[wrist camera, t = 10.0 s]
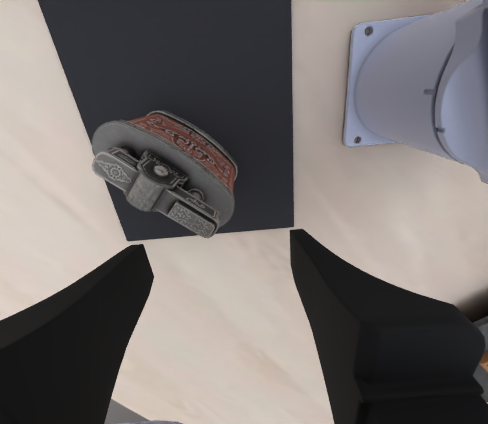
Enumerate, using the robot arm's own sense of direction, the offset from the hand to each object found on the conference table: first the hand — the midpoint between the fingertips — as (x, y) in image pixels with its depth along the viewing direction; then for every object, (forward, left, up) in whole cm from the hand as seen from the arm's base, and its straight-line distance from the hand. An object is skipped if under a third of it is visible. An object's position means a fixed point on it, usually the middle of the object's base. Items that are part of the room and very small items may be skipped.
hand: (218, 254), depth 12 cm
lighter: (+3, -3, -10) cm, 11 cm away
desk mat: (+3, -5, -10) cm, 12 cm away
